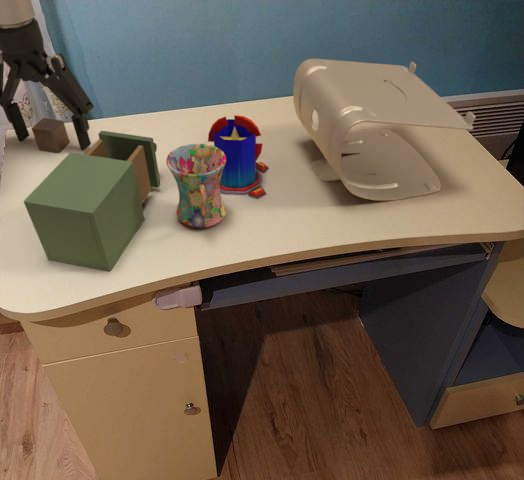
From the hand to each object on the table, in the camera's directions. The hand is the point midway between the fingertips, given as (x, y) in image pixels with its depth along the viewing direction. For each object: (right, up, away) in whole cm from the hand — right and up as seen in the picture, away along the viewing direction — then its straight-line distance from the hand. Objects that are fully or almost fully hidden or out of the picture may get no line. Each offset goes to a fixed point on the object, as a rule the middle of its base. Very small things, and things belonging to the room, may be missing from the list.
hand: (54, 142), depth 99 cm
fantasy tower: (+37, -10, -6) cm, 38 cm away
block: (0, 0, +1) cm, 1 cm away
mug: (+31, -19, -14) cm, 40 cm away
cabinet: (+14, -23, -18) cm, 32 cm away
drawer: (+17, -14, -11) cm, 25 cm away
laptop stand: (+62, -6, -3) cm, 62 cm away
